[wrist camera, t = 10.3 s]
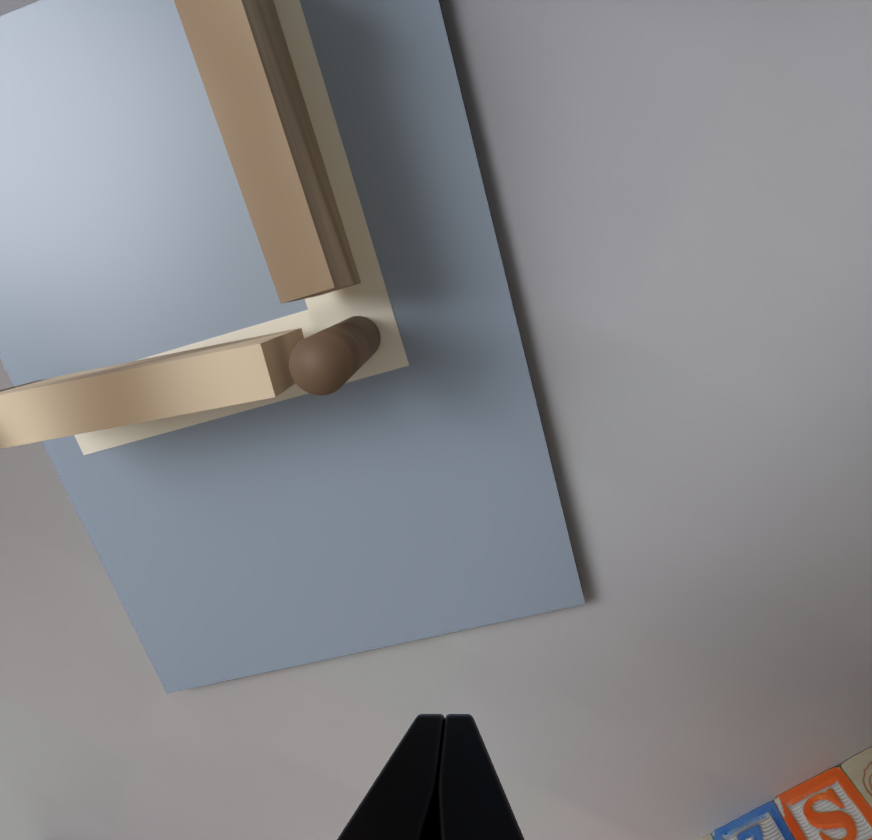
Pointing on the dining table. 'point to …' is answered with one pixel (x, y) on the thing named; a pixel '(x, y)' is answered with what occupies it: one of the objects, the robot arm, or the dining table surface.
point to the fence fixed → (280, 175)
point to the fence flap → (148, 389)
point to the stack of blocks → (813, 808)
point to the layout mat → (264, 314)
